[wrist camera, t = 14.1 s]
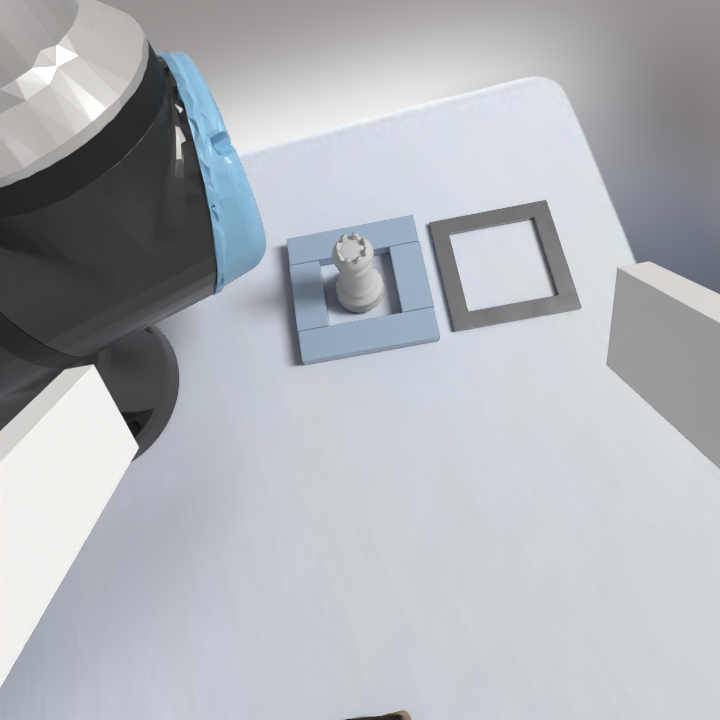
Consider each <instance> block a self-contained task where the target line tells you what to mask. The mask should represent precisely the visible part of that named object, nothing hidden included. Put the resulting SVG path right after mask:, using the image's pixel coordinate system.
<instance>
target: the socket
mask: <svg viewBox="0 0 720 720" xmlns="http://www.w3.org/2000/svg"><path fill="white" fill-rule="evenodd" d="M352 232H353V233H358V234H359V236H362V237H364V238H365V239H367V240H368V241H369V242H370V243H371V245H372V246H373V251H374V255H373V256H376V255H381V254H386V253H390V256H391V261H392V266H393V271H394V276H395V281H396V286H397V291H398V296H399V301H400V306H401V311H402V313H397V314H392V315H387V316H381V317H376V318H370V319H365V320H359V321H354V322H349V323H343V324H338V325H332V326H330V324H329V318H328V311H327V304H326V298H325V291H324V284H323V278H322V271H321V266H323V265H328V264H334V263H333V260H332V250H333V247H334V246H335V244H336V242H338V241H339V240H340V239H341V238H340V237H341V236H342V235H344V234H346V236H350V235H352ZM287 246H288V254H289V262H290V266H289V267H290V275H291V283H292V291H293V299H294V307H295V314H296V322H297V330H298V333H299V340H300V348H301V356H302V362H303V363H304V364H305V365H308V364H313V363H319V362H324V361H330V360H335V359H341V358H346V357H352V356H357V355H363V354H369V353H374V352H380V351H385V350H391V349H396V348H402V347H407V346H413V345H418V344H424V343H429V342H435V341H439V339H440V334H439V329H438V325H437V320H436V316H435V312H434V304H433V299H432V295H431V291H430V286H429V282H428V277H427V273H426V268H425V264H424V259H423V255H422V251H421V246H420V242H419V240H418V236H417V232H416V227H415V223H414V218H413V215H410V216H405V217H399V218H394V219H389V220H384V221H379V222H373V223H368V224H363V225H358V226H353V227H348V228H342V229H337V230H332V231H327V232H322V233H317V234H311V235H306V236H301V237H296V238H291V239H287Z"/></svg>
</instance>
